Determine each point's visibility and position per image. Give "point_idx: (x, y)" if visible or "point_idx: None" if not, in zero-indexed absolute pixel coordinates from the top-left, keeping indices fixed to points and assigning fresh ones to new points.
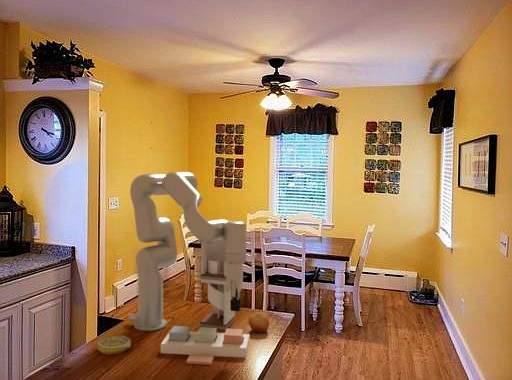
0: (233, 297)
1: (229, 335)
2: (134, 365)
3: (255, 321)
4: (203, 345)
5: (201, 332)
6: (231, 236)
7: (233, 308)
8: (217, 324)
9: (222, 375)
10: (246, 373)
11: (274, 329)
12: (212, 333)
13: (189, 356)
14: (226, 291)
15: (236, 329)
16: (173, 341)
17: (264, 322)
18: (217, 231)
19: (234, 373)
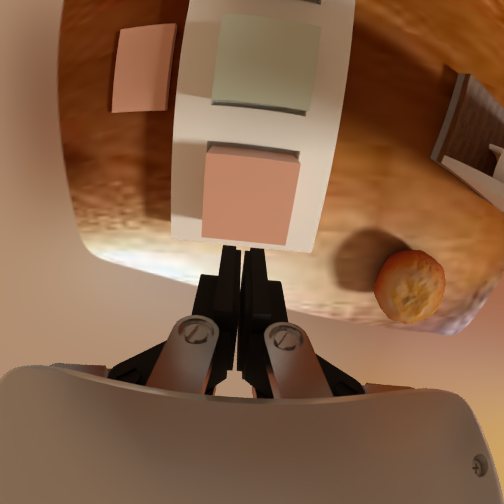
0: (145, 364)
1: (204, 181)
2: None
3: (396, 283)
4: (186, 61)
5: (240, 35)
6: None
7: (200, 279)
8: (451, 132)
9: (64, 162)
10: (86, 226)
11: None
12: (225, 91)
13: (155, 26)
14: (7, 372)
15: (284, 214)
16: None
17: (385, 308)
18: None
19: (78, 194)
